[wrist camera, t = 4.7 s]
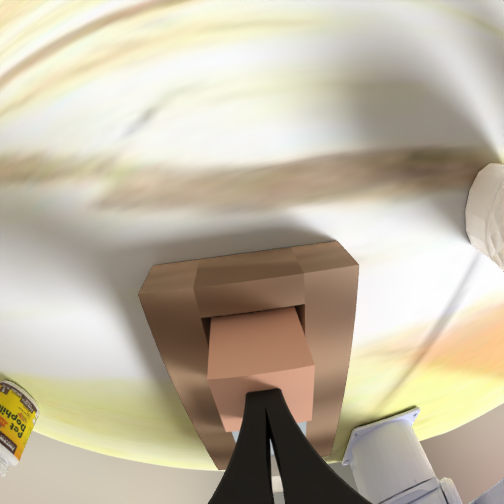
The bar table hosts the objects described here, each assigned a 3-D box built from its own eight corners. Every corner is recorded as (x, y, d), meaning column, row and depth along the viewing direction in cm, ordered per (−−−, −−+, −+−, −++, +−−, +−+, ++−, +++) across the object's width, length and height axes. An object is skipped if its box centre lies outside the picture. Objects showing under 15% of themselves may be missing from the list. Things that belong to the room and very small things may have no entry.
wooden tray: (323, 429, 23) (330, 454, 20) (218, 444, 22) (218, 470, 20) (337, 240, 15) (359, 264, 12) (152, 265, 15) (138, 294, 12)
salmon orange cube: (296, 363, 15) (311, 420, 11) (225, 373, 15) (226, 432, 11) (294, 306, 14) (314, 365, 10) (211, 317, 13) (207, 379, 10)
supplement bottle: (46, 404, 20) (14, 481, 11) (35, 417, 21) (9, 483, 12) (4, 370, 18) (-37, 442, 9) (-2, 387, 19) (-35, 450, 10)
